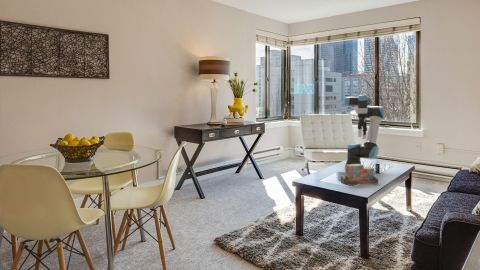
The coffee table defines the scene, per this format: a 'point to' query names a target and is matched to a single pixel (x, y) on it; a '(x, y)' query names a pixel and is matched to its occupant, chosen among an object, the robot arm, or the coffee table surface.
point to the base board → (360, 181)
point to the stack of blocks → (358, 172)
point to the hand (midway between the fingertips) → (362, 137)
